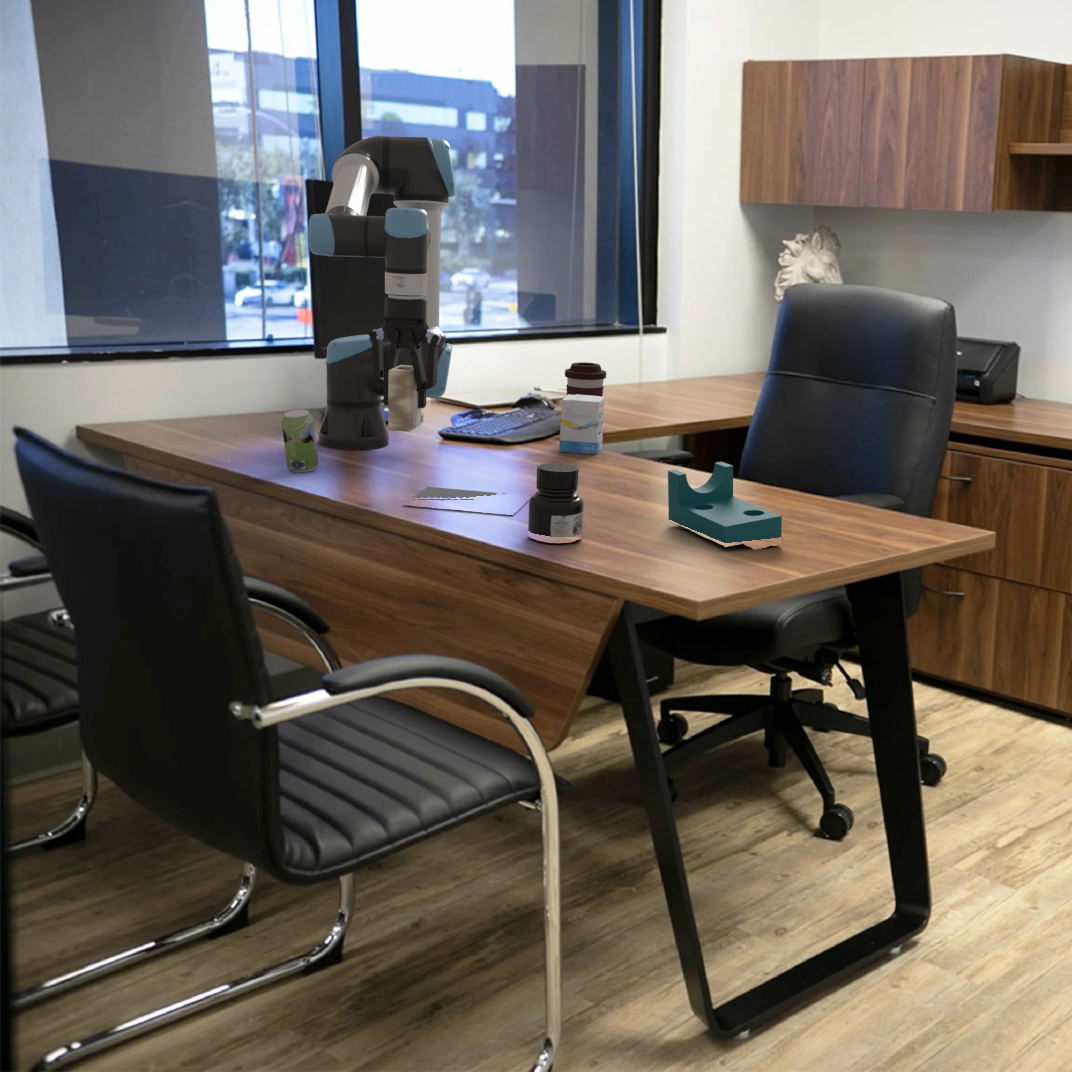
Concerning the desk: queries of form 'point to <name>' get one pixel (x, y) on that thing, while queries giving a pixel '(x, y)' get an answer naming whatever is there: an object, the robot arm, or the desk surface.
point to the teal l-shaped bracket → (719, 508)
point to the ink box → (581, 424)
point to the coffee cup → (585, 379)
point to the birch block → (401, 398)
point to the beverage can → (299, 440)
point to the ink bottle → (556, 502)
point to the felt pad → (449, 493)
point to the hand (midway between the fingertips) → (404, 423)
